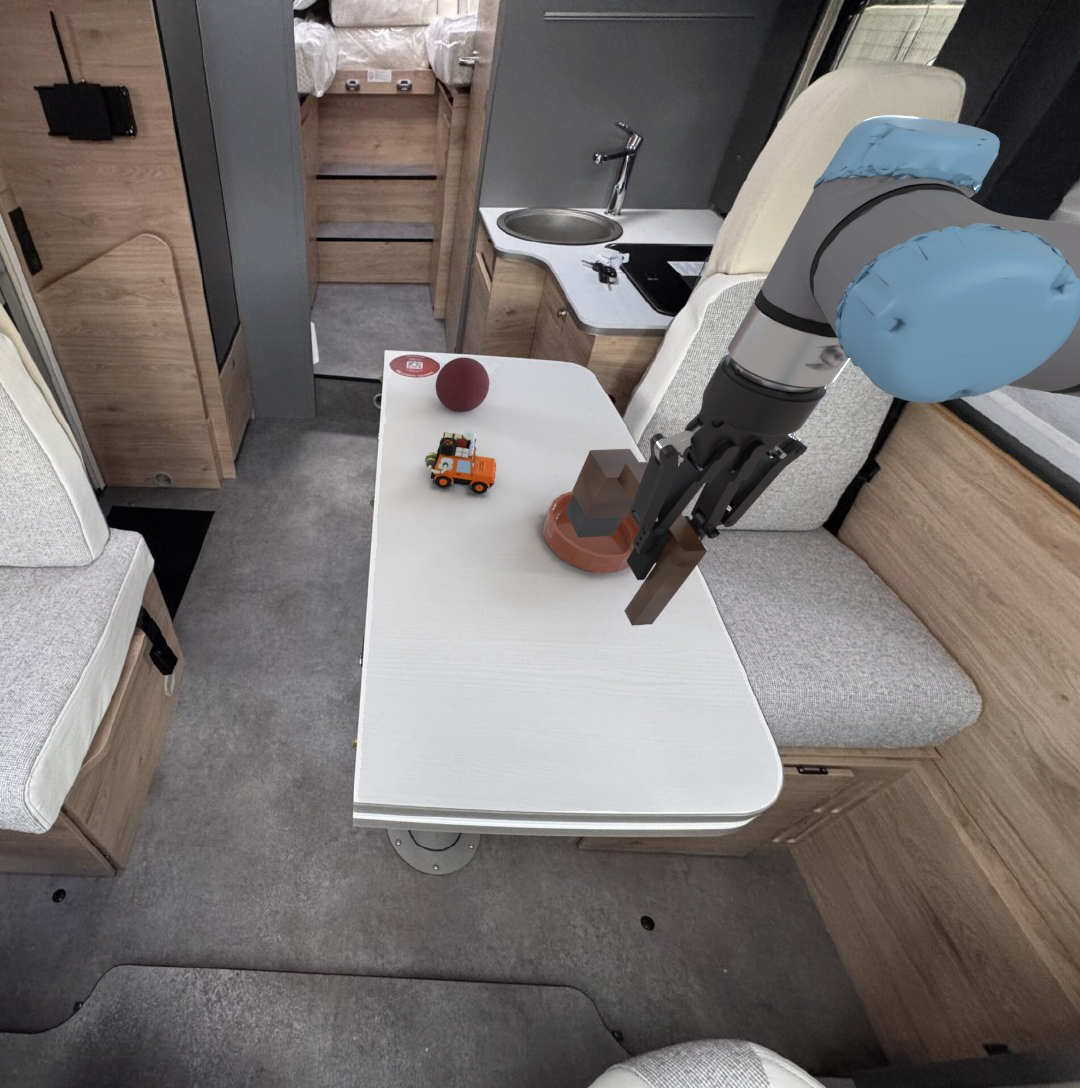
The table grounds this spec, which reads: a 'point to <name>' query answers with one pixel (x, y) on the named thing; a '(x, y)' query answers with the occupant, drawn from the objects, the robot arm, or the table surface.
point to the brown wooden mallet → (609, 499)
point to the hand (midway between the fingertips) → (649, 569)
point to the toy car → (461, 463)
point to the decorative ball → (462, 384)
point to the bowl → (588, 541)
